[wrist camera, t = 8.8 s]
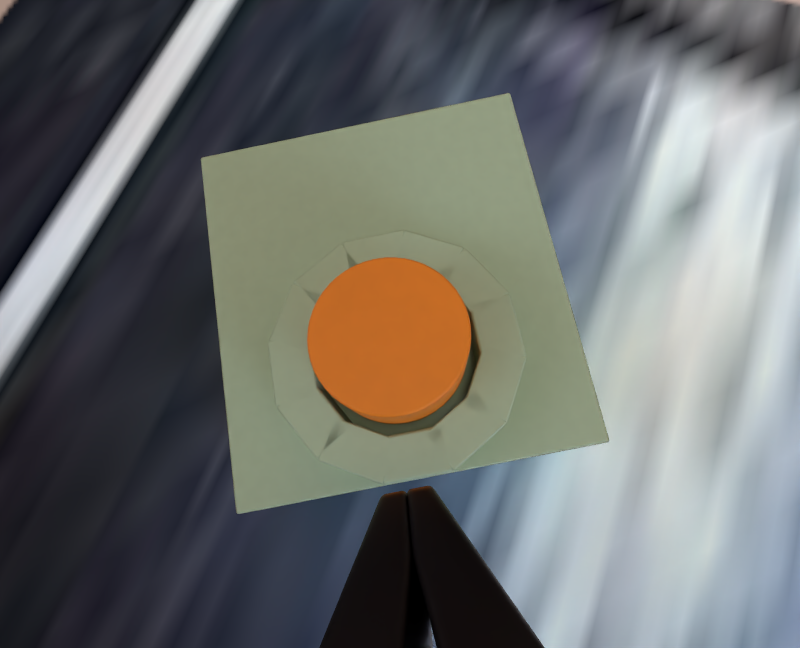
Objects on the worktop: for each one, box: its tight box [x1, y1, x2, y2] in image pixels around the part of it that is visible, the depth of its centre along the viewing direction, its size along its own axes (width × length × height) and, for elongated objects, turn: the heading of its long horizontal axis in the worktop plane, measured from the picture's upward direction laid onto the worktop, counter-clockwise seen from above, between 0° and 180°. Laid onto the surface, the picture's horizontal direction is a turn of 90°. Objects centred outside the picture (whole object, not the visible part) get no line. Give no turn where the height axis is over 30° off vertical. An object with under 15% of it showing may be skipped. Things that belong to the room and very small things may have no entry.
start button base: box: [201, 93, 609, 514], centre depth 19 cm, size 12×11×7 cm
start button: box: [307, 257, 471, 424], centre depth 14 cm, size 4×4×2 cm
